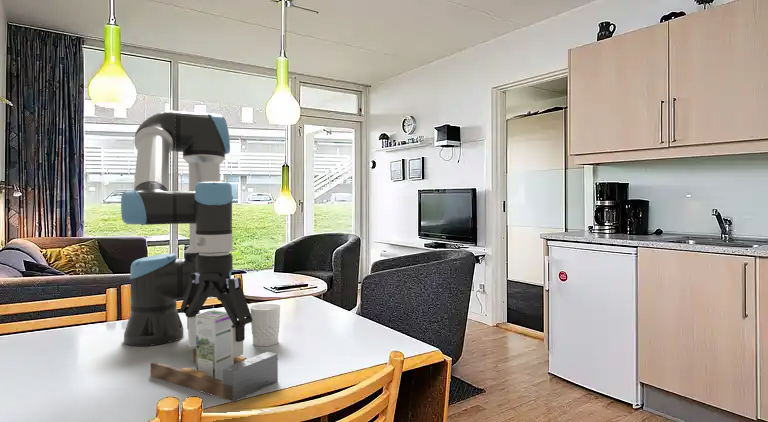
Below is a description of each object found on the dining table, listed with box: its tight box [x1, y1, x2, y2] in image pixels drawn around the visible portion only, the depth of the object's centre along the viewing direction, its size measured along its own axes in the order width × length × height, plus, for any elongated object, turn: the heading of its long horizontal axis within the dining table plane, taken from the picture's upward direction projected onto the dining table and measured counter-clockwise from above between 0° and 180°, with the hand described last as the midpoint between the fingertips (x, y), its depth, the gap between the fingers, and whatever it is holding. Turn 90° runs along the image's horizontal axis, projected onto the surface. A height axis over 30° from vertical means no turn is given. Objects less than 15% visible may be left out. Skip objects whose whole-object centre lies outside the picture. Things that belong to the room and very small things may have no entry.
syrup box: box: [195, 309, 234, 380], centre depth 104 cm, size 6×6×14 cm
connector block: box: [222, 351, 279, 402], centre depth 98 cm, size 3×12×6 cm, turn 149°
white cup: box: [249, 302, 281, 347], centre depth 130 cm, size 8×8×10 cm
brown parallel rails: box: [150, 348, 248, 402], centre depth 105 cm, size 26×12×4 cm, turn 59°
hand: (215, 350), depth 104 cm, fingers open, 13 cm apart
